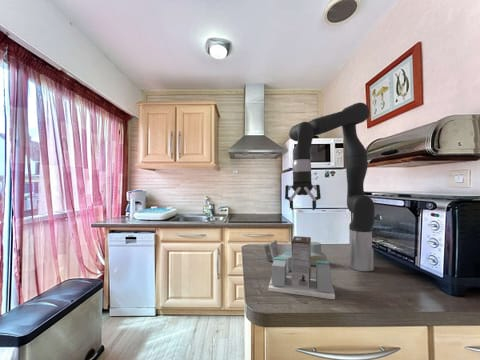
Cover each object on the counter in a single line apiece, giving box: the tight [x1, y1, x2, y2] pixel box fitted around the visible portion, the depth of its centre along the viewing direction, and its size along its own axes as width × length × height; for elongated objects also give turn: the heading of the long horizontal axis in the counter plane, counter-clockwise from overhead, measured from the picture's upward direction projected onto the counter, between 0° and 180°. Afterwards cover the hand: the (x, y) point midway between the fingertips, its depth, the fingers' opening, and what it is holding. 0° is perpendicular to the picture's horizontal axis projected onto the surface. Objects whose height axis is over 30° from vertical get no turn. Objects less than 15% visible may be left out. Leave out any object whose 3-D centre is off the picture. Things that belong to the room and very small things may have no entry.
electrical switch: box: [263, 239, 281, 263], centre depth 118 cm, size 9×5×9 cm, turn 152°
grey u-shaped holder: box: [268, 257, 336, 300], centre depth 86 cm, size 22×12×9 cm, turn 75°
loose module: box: [278, 251, 292, 273], centre depth 106 cm, size 5×7×6 cm
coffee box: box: [291, 235, 312, 289], centre depth 87 cm, size 9×6×16 cm
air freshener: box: [311, 241, 328, 267], centre depth 113 cm, size 11×8×10 cm
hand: (302, 209), depth 98 cm, fingers open, 8 cm apart
